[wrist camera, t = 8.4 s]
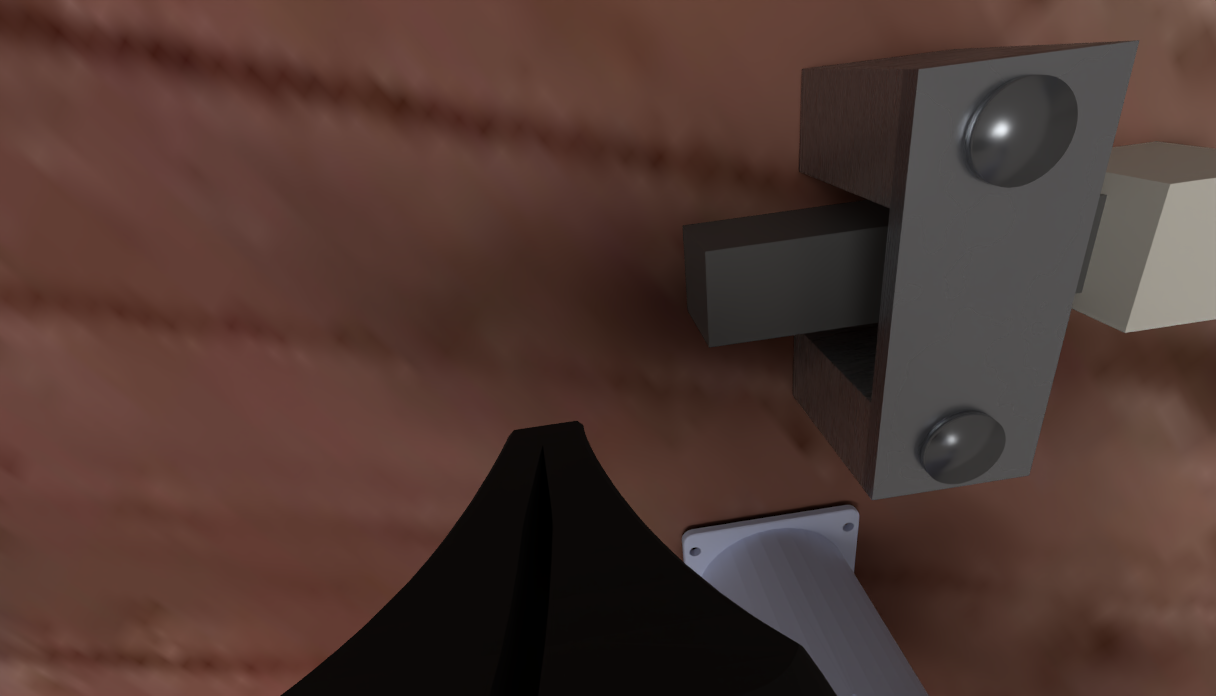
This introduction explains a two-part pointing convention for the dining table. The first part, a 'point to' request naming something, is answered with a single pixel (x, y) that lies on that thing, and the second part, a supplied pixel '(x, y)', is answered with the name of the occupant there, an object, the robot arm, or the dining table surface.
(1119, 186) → the plug
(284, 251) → the dining table surface
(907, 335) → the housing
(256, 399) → the dining table surface
